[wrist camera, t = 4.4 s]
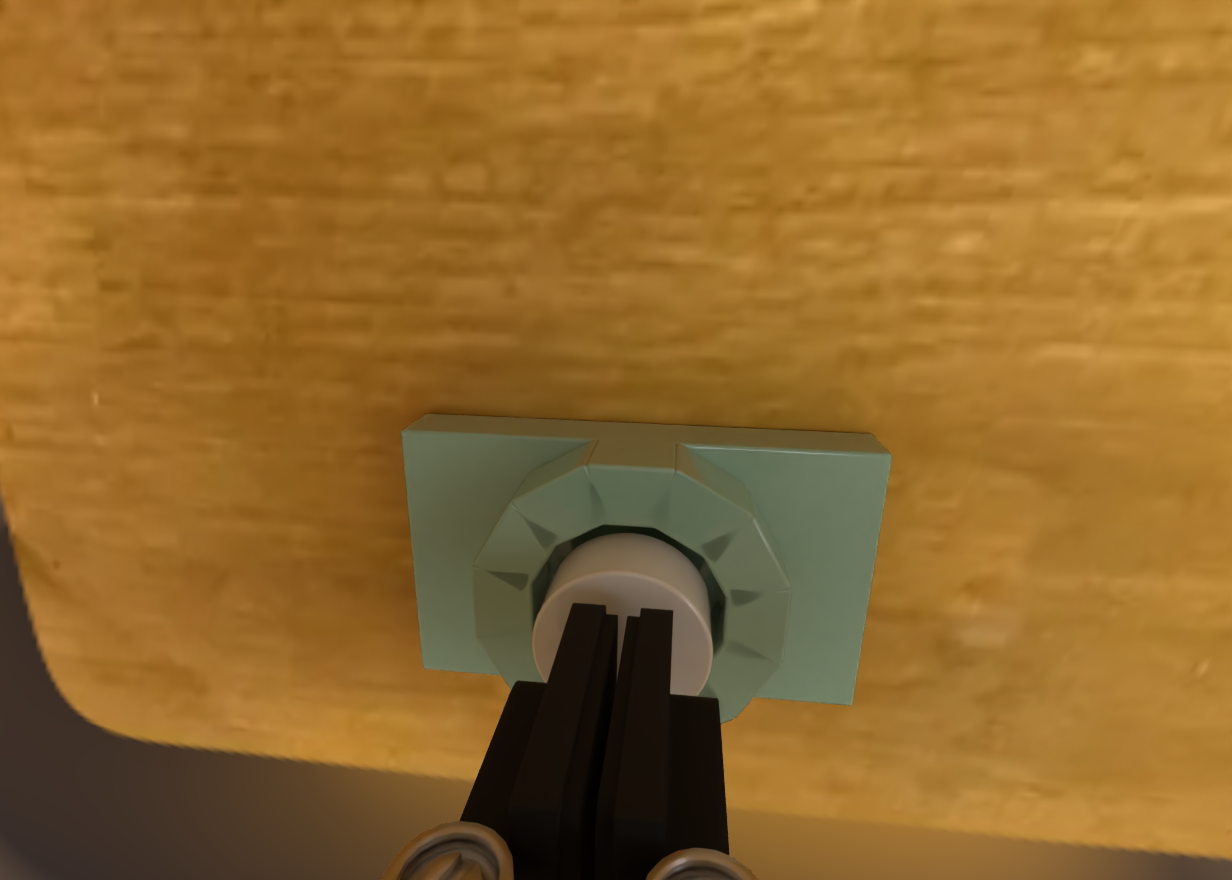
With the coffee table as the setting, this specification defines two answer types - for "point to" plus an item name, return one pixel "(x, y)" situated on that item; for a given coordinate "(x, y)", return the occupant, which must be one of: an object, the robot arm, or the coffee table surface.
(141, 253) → the coffee table surface
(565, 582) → the beige push button
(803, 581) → the green push button base
